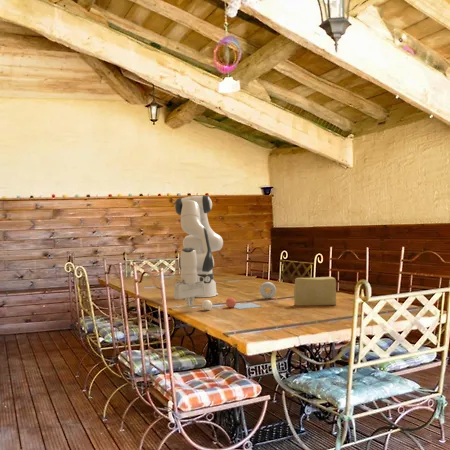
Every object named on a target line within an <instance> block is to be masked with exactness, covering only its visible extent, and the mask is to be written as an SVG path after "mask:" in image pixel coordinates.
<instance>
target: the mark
mask: <svg viewBox="0 0 450 450" xmlns="http://www.w3.org/2000/svg"><path fill="white" fill-rule="evenodd" d="M262 307H263V305H259V304H255V303H252V302H248V303H245V302H244V303H236V305H235V306H234V307H233V308H234V309H236V310H246V309H252V308H253V309H254V308H262Z"/></svg>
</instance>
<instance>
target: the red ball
mask: <svg viewBox="0 0 450 450" xmlns="http://www.w3.org/2000/svg"><path fill="white" fill-rule="evenodd" d="M225 304H226V306H227V307H228V308H231V309H232V308H234V306H235V305H236V304H237V301H236V299H235V298H234V297H228V298H227V299H226V300H225Z"/></svg>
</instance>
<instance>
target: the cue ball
mask: <svg viewBox="0 0 450 450" xmlns="http://www.w3.org/2000/svg"><path fill="white" fill-rule="evenodd" d="M201 308H202V309H203V310H205V311H210V310H211V309H213V303H212V301H211V300H210V299H205V300H203V301H202V303H201Z"/></svg>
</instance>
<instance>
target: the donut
mask: <svg viewBox="0 0 450 450" xmlns="http://www.w3.org/2000/svg"><path fill="white" fill-rule="evenodd" d="M268 288H269V289H270V292H266V289H268ZM276 293H277V287H276V286H275V284H274V283H273V282H270V281H267V282H263V283H262V284H261V285H260V287H259V294H260V295H261V297H263V298H264V299H272V298H273V297H274V296H275V295H276Z"/></svg>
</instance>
